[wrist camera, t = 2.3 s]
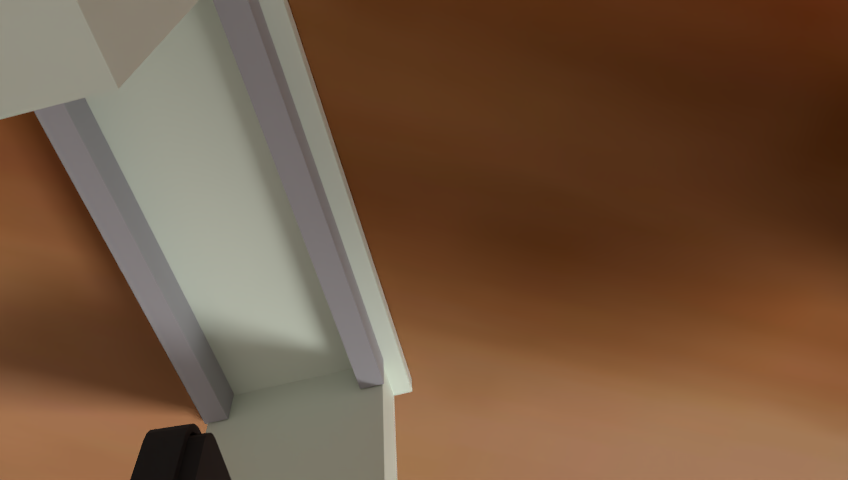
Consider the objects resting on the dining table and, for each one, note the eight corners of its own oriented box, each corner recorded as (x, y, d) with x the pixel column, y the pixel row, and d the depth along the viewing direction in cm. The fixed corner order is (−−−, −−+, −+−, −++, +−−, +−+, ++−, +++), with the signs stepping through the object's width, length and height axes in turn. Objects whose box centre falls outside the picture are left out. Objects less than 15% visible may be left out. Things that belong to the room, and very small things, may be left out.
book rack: (246, -125, 26) (111, -54, 13) (411, 378, 39) (433, 686, 25) (-35, -48, 27) (-451, 99, 13) (217, 422, 40) (135, 744, 26)
